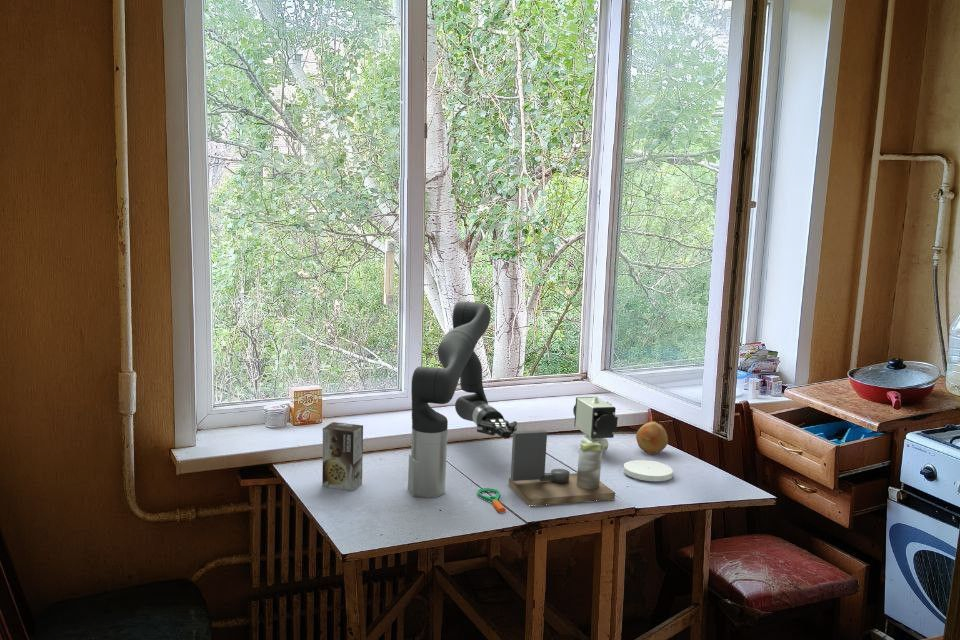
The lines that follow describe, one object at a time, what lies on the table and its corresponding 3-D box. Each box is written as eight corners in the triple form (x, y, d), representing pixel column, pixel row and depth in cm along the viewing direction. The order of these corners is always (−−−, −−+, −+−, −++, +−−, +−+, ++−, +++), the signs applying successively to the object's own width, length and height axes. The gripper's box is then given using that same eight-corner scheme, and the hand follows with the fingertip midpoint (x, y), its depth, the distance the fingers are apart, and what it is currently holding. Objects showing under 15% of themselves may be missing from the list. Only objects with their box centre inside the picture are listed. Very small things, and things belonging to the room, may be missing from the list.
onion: (632, 447, 252) (635, 417, 251) (663, 449, 252) (666, 419, 251) (637, 456, 243) (640, 425, 241) (669, 458, 242) (672, 427, 241)
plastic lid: (645, 465, 236) (646, 457, 235) (682, 479, 224) (683, 471, 224) (613, 473, 227) (613, 464, 227) (649, 487, 216) (650, 479, 216)
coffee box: (363, 483, 208) (364, 425, 206) (352, 491, 202) (354, 431, 200) (332, 478, 211) (333, 421, 209) (320, 486, 205) (321, 427, 202)
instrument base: (529, 506, 198) (532, 454, 196) (508, 484, 213) (510, 436, 211) (614, 499, 205) (618, 450, 203) (588, 479, 220) (591, 432, 218)
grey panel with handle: (514, 486, 205) (517, 435, 203) (508, 480, 210) (511, 430, 208) (572, 482, 210) (575, 432, 208) (564, 476, 215) (567, 427, 213)
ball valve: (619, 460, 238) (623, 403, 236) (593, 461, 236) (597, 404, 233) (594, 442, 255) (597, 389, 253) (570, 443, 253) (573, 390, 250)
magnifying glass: (474, 493, 206) (474, 486, 206) (496, 491, 208) (496, 485, 208) (490, 515, 192) (490, 508, 192) (513, 513, 194) (513, 507, 193)
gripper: (467, 407, 233) (485, 423, 216) (509, 406, 237) (529, 421, 221) (466, 432, 234) (484, 449, 217) (507, 430, 238) (528, 447, 222)
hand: (507, 435), depth 219 cm, fingers closed
